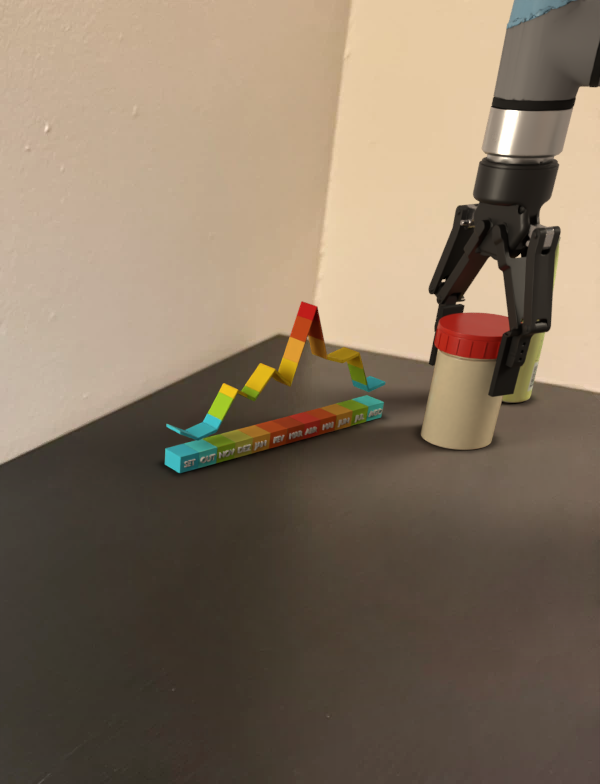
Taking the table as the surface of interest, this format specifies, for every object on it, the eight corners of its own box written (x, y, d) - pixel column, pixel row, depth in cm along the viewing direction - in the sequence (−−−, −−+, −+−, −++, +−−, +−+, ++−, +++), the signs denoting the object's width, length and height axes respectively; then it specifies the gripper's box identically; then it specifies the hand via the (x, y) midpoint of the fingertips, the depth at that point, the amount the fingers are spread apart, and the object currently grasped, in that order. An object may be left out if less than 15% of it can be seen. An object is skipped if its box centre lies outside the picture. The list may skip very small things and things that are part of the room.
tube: (476, 395, 126) (515, 229, 114) (499, 386, 129) (540, 222, 117) (515, 407, 123) (560, 237, 111) (538, 397, 125) (585, 230, 113)
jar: (506, 444, 114) (534, 338, 106) (446, 454, 112) (470, 346, 105) (464, 420, 120) (488, 318, 112) (407, 429, 118) (427, 325, 111)
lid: (418, 339, 112) (422, 317, 110) (487, 330, 114) (492, 308, 112) (464, 363, 105) (470, 340, 104) (538, 353, 107) (544, 331, 105)
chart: (181, 474, 109) (188, 335, 100) (164, 464, 112) (170, 328, 102) (382, 418, 121) (406, 289, 112) (364, 410, 123) (385, 283, 114)
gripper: (636, 171, 90) (566, 408, 104) (481, 139, 108) (438, 345, 121) (568, 178, 88) (506, 417, 102) (421, 144, 106) (384, 352, 119)
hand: (469, 378), depth 112 cm, fingers open, 10 cm apart
